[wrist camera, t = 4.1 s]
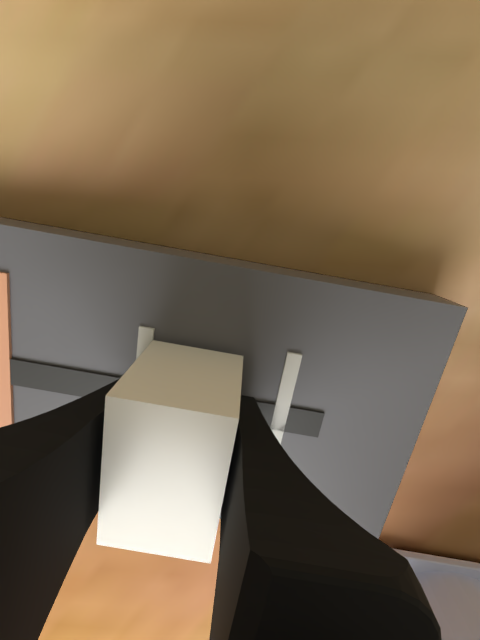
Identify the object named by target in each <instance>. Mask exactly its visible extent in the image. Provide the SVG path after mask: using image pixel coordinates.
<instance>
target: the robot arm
mask: <svg viewBox="0 0 480 640" xmlns="http://www.w3.org/2000/svg"><path fill="white" fill-rule="evenodd" d="M118 380H119V379H118ZM118 380H116V381H114V382H112V383H110V384H108V385H106V386H104V387H102V388H100V389H98V390H96V391H94V392H91V393H89V394H87V395H85V396H83V397H81V398H79V399H76V400H74V401H72V402H69V403H67V404H65V405H62V406H60V407H58V408H56V409H53V410H51V411H48V412H46V413H43V414H40V415H37V416H35V417H32V418H29V419H26V420H23V421H20V422H17V423H14V424H11V425H7V426H4V427H0V640H38V638H39V636H40V633H41V631H42V629H43V626H44V624H45V622H46V619H47V617H48V615H49V612H50V610H51V608H52V606H53V604H54V601H55V599H56V597H57V595H58V592H59V590H60V588H61V586H62V583H63V581H64V579H65V577H66V575H67V572H68V570H69V568H70V566H71V564H72V562H73V559H74V557H75V555H76V553H77V551H78V549H79V547H80V544H81V542H82V540H83V538H84V536H85V534H86V532H87V530H88V528H89V527H90V525H91V523H92V521H93V519H94V517H95V516H96V514H97V512H98V511H99V495H100V478H101V462H102V445H103V428H104V411H105V396H106V394H107V393H108V392H109V391H110V390H111V389H112V387H113V386H114V385H115V384H116V383H117V382H118ZM210 640H480V563H476V562H470V561H464V560H458V559H453V558H447V557H441V556H435V555H429V554H423V553H417V552H411V551H405V550H399V549H393V548H390V547H389V546H388V545H386V544H385V543H383V542H382V541H380V540H379V539H378V538H376V537H375V536H373V535H372V534H370V533H369V532H368V531H366V530H365V529H364V528H362V527H361V526H360V525H359V524H357V523H356V522H355V521H354V520H353V519H351V518H350V517H349V516H348V515H346V514H345V513H344V512H343V511H342V510H340V509H339V508H338V507H337V506H336V505H335V504H334V503H332V502H331V501H330V500H329V499H328V498H327V497H326V496H325V495H324V494H323V493H322V492H321V491H320V490H319V489H318V488H317V487H316V486H315V485H314V484H313V483H312V482H311V481H310V480H309V479H308V478H307V477H306V476H305V475H304V474H303V472H302V471H301V470H300V469H299V468H298V467H297V465H296V464H295V463H294V462H293V461H292V459H291V458H290V457H289V456H288V454H287V453H286V451H285V450H284V449H283V447H282V446H281V444H280V443H279V441H278V440H277V438H276V437H275V435H274V433H273V432H272V430H271V428H270V427H269V425H268V423H267V421H266V420H265V418H264V416H263V414H262V412H261V410H260V408H259V406H258V404H257V401H256V400H255V398H254V397H250V396H244V395H241V398H240V413H239V422H238V427H237V432H236V437H235V442H234V447H233V452H232V457H231V462H230V467H229V472H228V477H227V482H226V488H225V493H224V498H223V503H222V508H221V531H220V552H219V563H218V572H217V580H216V589H215V598H214V606H213V614H212V623H211V631H210Z"/></svg>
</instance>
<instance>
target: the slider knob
mask: <svg viewBox="0 0 480 640" xmlns="http://www.w3.org/2000/svg"><path fill="white" fill-rule="evenodd" d="M242 370H243V356H241V355H236V354H230V353H224V352H218V351H213V350H207V349H201V348H195V347H190V346H184V345H178V344H173V343H167V342H161V341H155V340H153V341H152V342H151V343H150V344H149V346H148V347H147V348H146V349H145V350H144V351H143V353H142V354H141V355H140V356H139V357H138V358H137V360H136V361H135V362H134V363H133V364H132V365H131V367H130V368H129V369H128V370H127V371H126V372H125V374H124V375H123V376H122V377H121V378H120V379H119V380H118V382H117V383H116V384H115V385H114V386H113V387H112V389H111V390H110V391H109V392H108V393H107V394H106V396H105V411H104V428H103V445H102V462H101V478H100V495H99V512H98V529H97V545H103V546H109V547H115V548H121V549H127V550H133V551H139V552H145V553H151V554H157V555H163V556H169V557H175V558H181V559H187V560H193V561H199V562H205V563H211V558H212V553H213V548H214V543H215V538H216V533H217V528H218V523H219V518H220V513H221V508H222V503H223V498H224V493H225V488H226V482H227V477H228V472H229V467H230V462H231V457H232V452H233V447H234V442H235V437H236V432H237V427H238V422H239V413H240V398H241V384H242Z"/></svg>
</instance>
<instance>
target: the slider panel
mask: <svg viewBox="0 0 480 640" xmlns="http://www.w3.org/2000/svg"><path fill="white" fill-rule="evenodd" d="M467 309H468V308H467V307H465V306H462V305H460V304H457V303H455V302H452V301H449V300H447V299H444V298H442V297H439V296H436V295H434V294H428V293H423V292H417V291H411V290H406V289H400V288H395V287H389V286H383V285H378V284H372V283H367V282H361V281H355V280H350V279H344V278H339V277H333V276H327V275H322V274H316V273H311V272H305V271H299V270H294V269H288V268H283V267H277V266H271V265H266V264H260V263H255V262H249V261H243V260H238V259H232V258H227V257H221V256H215V255H210V254H204V253H199V252H193V251H187V250H182V249H176V248H171V247H165V246H159V245H154V244H148V243H143V242H137V241H131V240H126V239H120V238H115V237H109V236H103V235H98V234H92V233H87V232H81V231H75V230H70V229H64V228H59V227H53V226H47V225H42V224H36V223H31V222H25V221H20V220H14V219H8V218H3V217H0V427H4V426H7V425H11V424H14V423H17V422H20V421H23V420H26V419H29V418H32V417H35V416H37V415H40V414H43V413H46V412H48V411H51V410H53V409H56V408H58V407H60V406H62V405H65V404H67V403H69V402H72V401H74V400H76V399H79V398H81V397H83V396H85V395H87V394H89V393H91V392H94V391H96V390H98V389H100V388H102V387H104V386H106V385H108V384H110V383H112V382H114V381H116V380H118V379H120V378H121V377H122V376H123V375H124V374H125V372H126V371H127V370H128V369H129V368H130V367H131V365H132V364H133V363H134V362H135V361H136V360H137V358H138V357H139V356H140V355H141V354H142V353H143V351H144V350H145V349H146V348H147V347H148V346H149V344H150V343H151V342H152V341H153V340H155V341H161V342H167V343H173V344H178V345H184V346H190V347H195V348H201V349H207V350H213V351H218V352H224V353H230V354H236V355H241V356H243V370H242V384H241V395H244V396H250V397H254V398H255V400H256V401H257V404H258V406H259V408H260V410H261V412H262V414H263V416H264V418H265V420H266V421H267V423H268V425H269V427H270V428H271V430H272V432H273V433H274V435H275V437H276V438H277V440H278V441H279V443H280V444H281V446H282V447H283V449H284V450H285V451H286V453H287V454H288V456H289V457H290V458H291V459H292V461H293V462H294V463H295V464H296V465H297V467H298V468H299V469H300V470H301V471H302V472H303V474H304V475H305V476H306V477H307V478H308V479H309V480H310V481H311V482H312V483H313V484H314V485H315V486H316V487H317V488H318V489H319V490H320V491H321V492H322V493H323V494H324V495H325V496H326V497H327V498H328V499H329V500H330V501H331V502H332V503H334V504H335V505H336V506H337V507H338V508H339V509H340V510H342V511H343V512H344V513H345V514H346V515H348V516H349V517H350V518H351V519H353V520H354V521H355V522H356V523H357V524H359V525H360V526H361V527H362V528H364V529H365V530H366V531H368V532H369V533H370V534H372V535H373V536H375V537H376V538H378V539H379V536H380V534H381V531H382V529H383V526H384V523H385V521H386V518H387V516H388V513H389V510H390V508H391V505H392V503H393V500H394V498H395V495H396V492H397V490H398V487H399V485H400V482H401V479H402V477H403V474H404V472H405V469H406V466H407V464H408V461H409V459H410V456H411V454H412V451H413V448H414V446H415V443H416V441H417V438H418V435H419V433H420V430H421V428H422V425H423V423H424V420H425V417H426V415H427V412H428V410H429V407H430V404H431V402H432V399H433V397H434V394H435V392H436V389H437V386H438V384H439V381H440V379H441V376H442V373H443V371H444V368H445V366H446V363H447V360H448V358H449V355H450V353H451V350H452V348H453V345H454V342H455V340H456V337H457V335H458V332H459V329H460V327H461V324H462V322H463V319H464V317H465V314H466V311H467ZM220 519H221V513H220Z"/></svg>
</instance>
